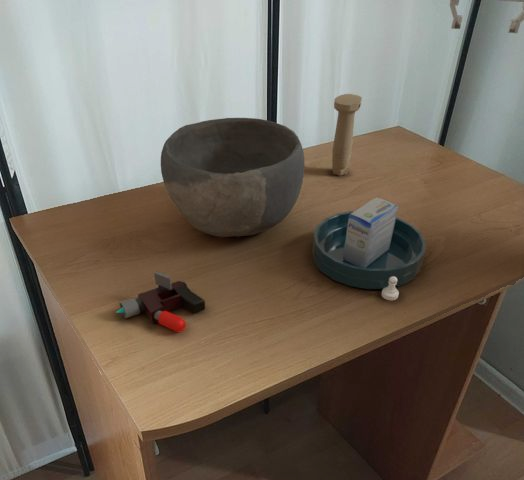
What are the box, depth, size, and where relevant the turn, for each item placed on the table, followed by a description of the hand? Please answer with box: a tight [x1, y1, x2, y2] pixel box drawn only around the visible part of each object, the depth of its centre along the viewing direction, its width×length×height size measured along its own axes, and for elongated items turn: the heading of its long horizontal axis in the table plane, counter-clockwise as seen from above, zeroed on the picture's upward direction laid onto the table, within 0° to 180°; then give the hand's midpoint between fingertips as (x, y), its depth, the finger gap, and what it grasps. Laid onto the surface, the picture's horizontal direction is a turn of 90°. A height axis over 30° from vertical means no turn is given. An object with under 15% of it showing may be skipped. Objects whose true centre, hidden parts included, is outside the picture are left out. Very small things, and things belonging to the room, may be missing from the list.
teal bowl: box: [311, 210, 427, 290], centre depth 89 cm, size 18×18×4 cm
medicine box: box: [343, 196, 399, 268], centre depth 88 cm, size 8×4×9 cm, turn 139°
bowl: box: [160, 117, 305, 238], centre depth 94 cm, size 24×24×15 cm
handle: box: [331, 93, 363, 177], centre depth 109 cm, size 5×6×15 cm
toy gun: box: [115, 271, 206, 333], centre depth 77 cm, size 10×12×5 cm
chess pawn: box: [381, 276, 400, 301], centre depth 82 cm, size 3×3×4 cm
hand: (483, 30), depth 92 cm, fingers open, 8 cm apart
